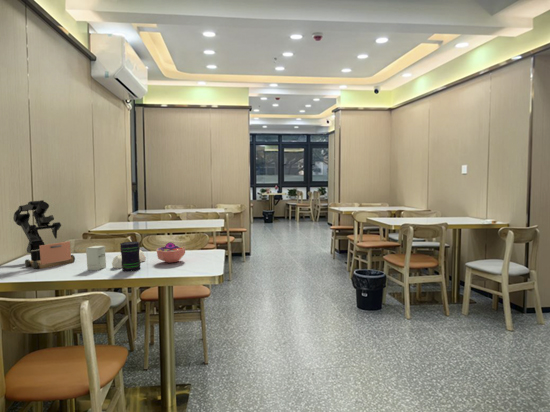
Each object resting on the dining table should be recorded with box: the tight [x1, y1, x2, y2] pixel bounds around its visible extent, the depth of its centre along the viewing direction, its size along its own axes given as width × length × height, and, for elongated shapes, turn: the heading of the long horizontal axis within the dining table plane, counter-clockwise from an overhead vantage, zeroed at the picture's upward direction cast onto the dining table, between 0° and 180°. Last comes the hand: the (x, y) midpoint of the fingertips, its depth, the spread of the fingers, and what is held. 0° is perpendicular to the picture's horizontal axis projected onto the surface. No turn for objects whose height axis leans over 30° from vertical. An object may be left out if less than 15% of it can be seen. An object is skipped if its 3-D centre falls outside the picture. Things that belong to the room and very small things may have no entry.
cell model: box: [155, 242, 186, 264], centre depth 246 cm, size 17×20×11 cm
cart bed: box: [24, 254, 76, 270], centre depth 255 cm, size 18×23×4 cm
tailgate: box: [39, 240, 72, 264], centre depth 249 cm, size 2×17×11 cm, turn 142°
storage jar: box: [119, 241, 142, 273], centre depth 229 cm, size 10×10×15 cm
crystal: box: [111, 249, 147, 269], centre depth 245 cm, size 7×7×24 cm
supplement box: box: [85, 245, 107, 271], centre depth 235 cm, size 7×7×13 cm
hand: (48, 239), depth 254 cm, fingers open, 9 cm apart
